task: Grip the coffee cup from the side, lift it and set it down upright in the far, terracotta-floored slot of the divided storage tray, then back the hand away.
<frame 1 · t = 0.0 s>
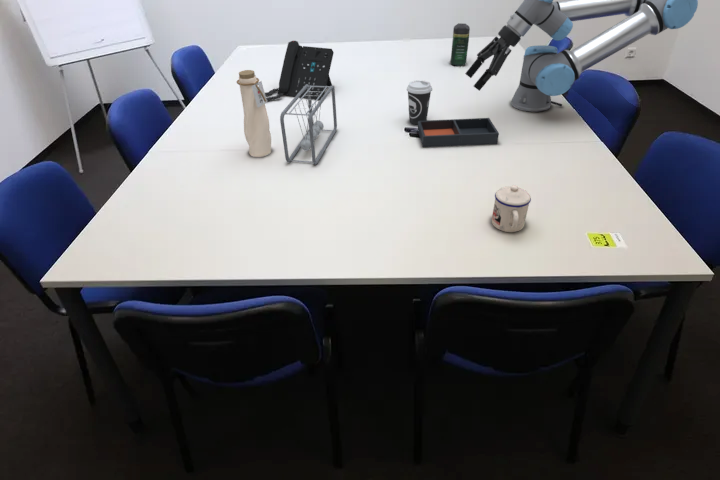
hand: (472, 82, 173), 15 cm above the table, tool tilted 35°, fingers open, 13 cm apart
coffee cup: (417, 122, 184), on the table
green shampoo bottle: (458, 64, 240), on the table
divided storage tray: (456, 137, 172), on the table
water bottle: (262, 152, 167), on the table
teacup with lid: (508, 227, 127), on the table
newton's cradle: (313, 146, 170), on the table
office phone: (293, 95, 212), on the table
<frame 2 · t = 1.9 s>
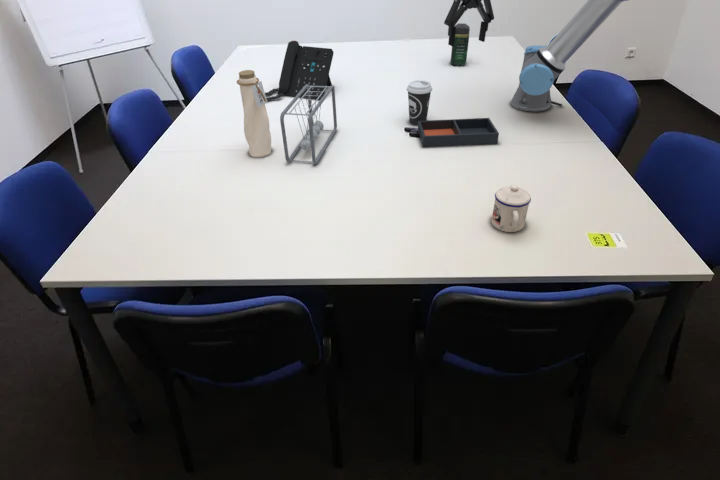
hand: (466, 43, 175), 26 cm above the table, tool pointing down, fingers open, 13 cm apart
nothing on the table moved.
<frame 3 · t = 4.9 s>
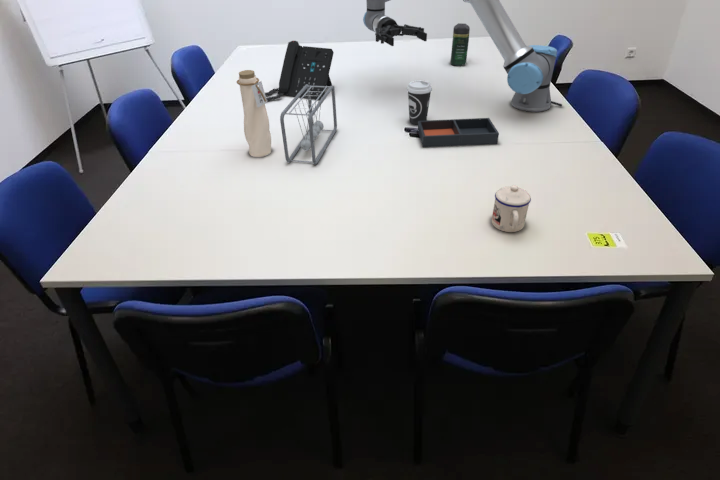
hand: (409, 39, 174), 28 cm above the table, tool horizontal, fingers open, 13 cm apart
nothing on the table moved.
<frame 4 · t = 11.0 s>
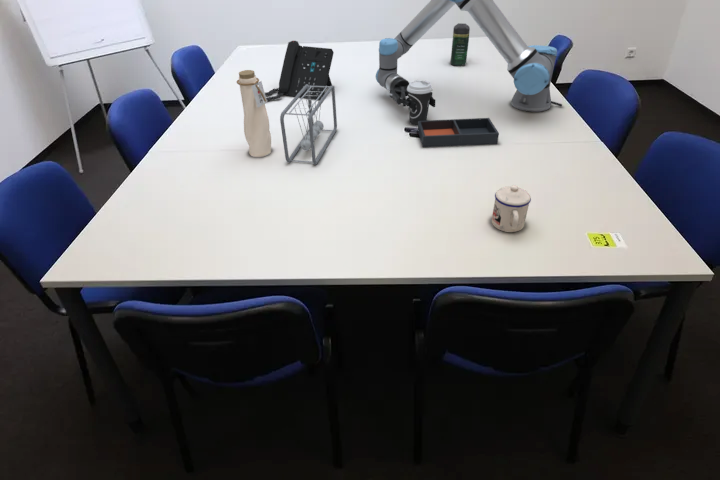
hand: (424, 105, 175), 9 cm above the table, tool horizontal, fingers closed on coffee cup, 7 cm apart
coffee cup: (418, 122, 184), on the table, touching gripper
everything else where it was.
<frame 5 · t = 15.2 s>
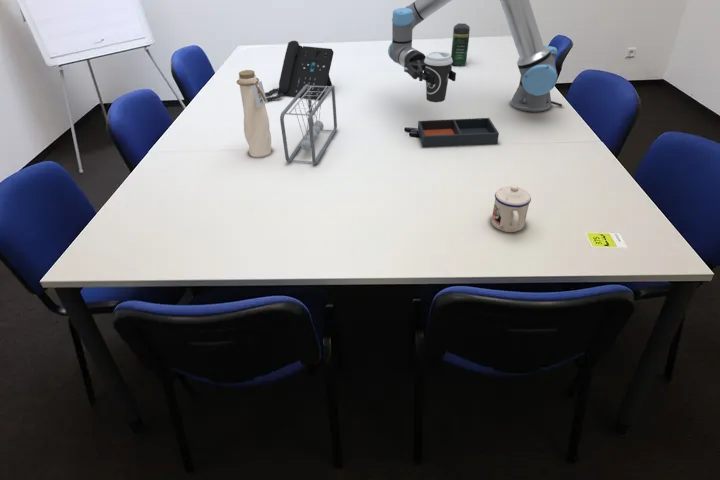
hand: (444, 79, 158), 22 cm above the table, tool horizontal, fingers closed on coffee cup, 7 cm apart
coffee cup: (435, 99, 167), point 13 cm above the table, touching gripper
everything else where it was.
when the fingers open (9 cm above the table, at t = 19.5 s): coffee cup stays where it is, resting on divided storage tray.
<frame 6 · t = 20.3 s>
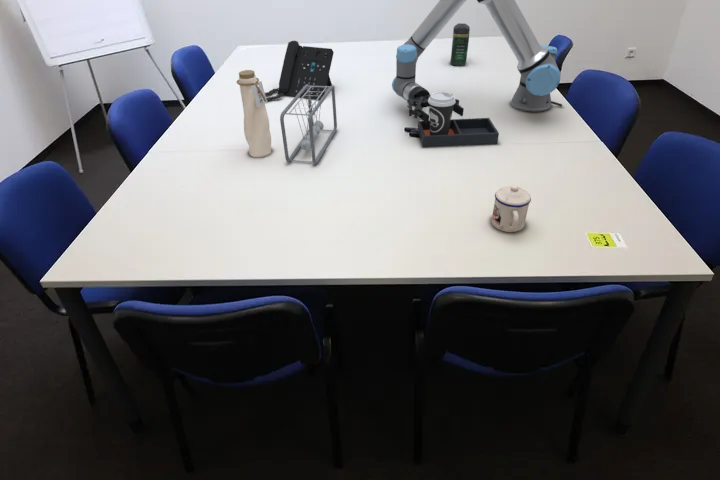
hand: (445, 115, 163), 10 cm above the table, tool horizontal, fingers open, 13 cm apart
coffee cup: (438, 136, 171), point 1 cm above the table, touching divided storage tray
everything else where it was.
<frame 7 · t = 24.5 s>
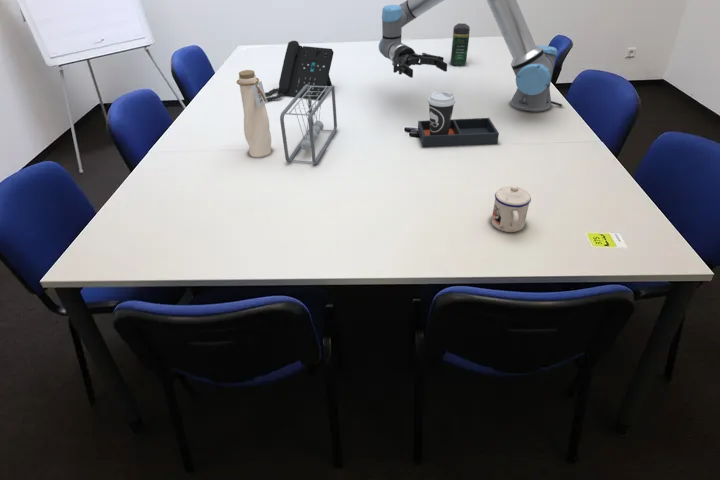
hand: (429, 70, 166), 22 cm above the table, tool horizontal, fingers open, 13 cm apart
nothing on the table moved.
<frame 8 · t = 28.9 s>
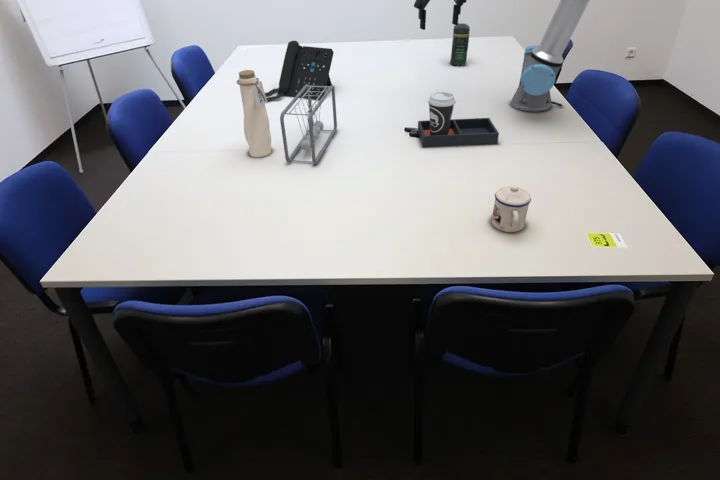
hand: (438, 26, 174), 32 cm above the table, tool pointing down, fingers open, 13 cm apart
nothing on the table moved.
at the end: coffee cup 0.0 cm from the target spot in the divided storage tray, point 0.6 cm above the divided storage tray's base; coffee cup tilted 0°; the gripper is holding nothing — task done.
